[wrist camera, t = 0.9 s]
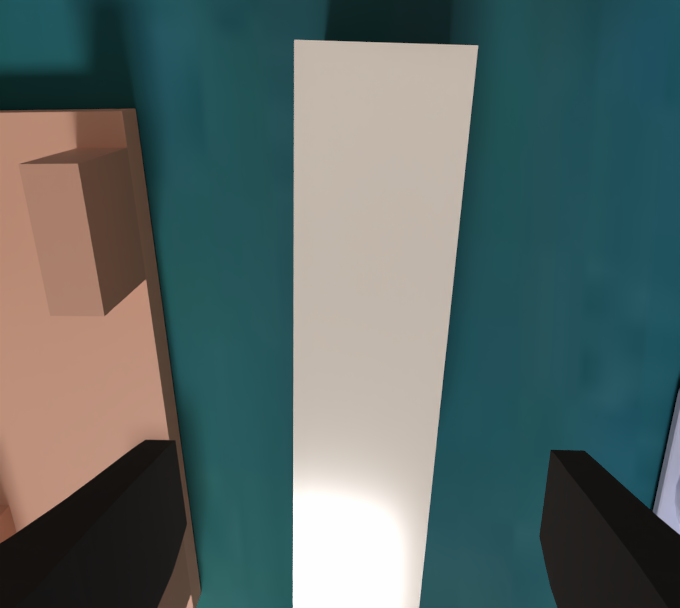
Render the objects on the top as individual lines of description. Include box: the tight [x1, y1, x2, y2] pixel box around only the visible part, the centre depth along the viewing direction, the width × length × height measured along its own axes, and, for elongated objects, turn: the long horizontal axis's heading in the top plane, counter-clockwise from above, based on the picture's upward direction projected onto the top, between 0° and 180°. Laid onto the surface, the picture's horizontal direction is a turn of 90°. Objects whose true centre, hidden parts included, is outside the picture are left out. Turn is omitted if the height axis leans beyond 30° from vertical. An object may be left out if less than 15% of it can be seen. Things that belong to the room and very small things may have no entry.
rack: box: [0, 109, 201, 608], centre depth 20 cm, size 8×19×4 cm, turn 1°
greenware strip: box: [293, 40, 478, 608], centre depth 17 cm, size 4×16×6 cm, turn 178°
